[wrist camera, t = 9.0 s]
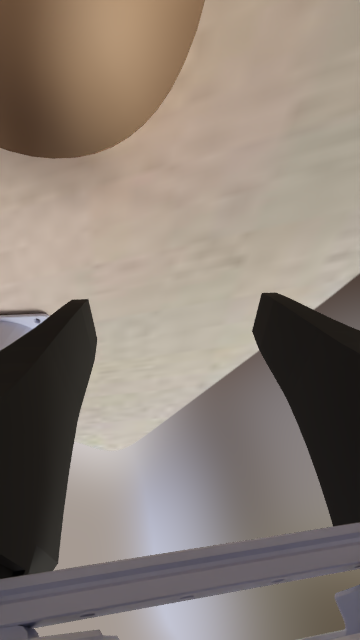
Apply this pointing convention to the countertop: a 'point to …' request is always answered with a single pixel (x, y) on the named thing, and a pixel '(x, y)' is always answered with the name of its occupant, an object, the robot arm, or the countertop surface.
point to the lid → (87, 70)
